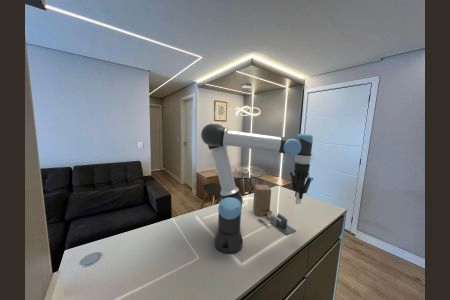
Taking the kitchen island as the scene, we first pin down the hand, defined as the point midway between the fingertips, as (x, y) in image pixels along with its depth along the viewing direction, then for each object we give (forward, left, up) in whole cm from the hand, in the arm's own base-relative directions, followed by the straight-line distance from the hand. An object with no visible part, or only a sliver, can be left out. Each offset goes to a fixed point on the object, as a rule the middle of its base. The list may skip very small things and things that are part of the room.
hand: (298, 203), depth 94 cm
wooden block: (0, +30, -21) cm, 36 cm away
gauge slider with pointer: (-3, +16, -19) cm, 25 cm away
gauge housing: (-2, +13, -20) cm, 24 cm away
